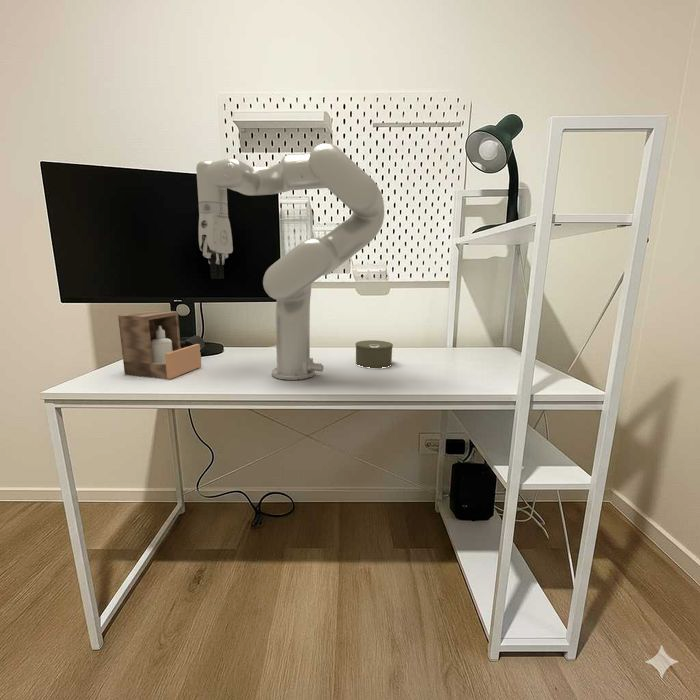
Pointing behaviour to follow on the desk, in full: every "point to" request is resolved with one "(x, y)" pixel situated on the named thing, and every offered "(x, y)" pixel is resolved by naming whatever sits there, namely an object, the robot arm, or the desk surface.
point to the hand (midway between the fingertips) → (217, 278)
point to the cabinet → (146, 340)
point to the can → (374, 353)
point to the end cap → (191, 341)
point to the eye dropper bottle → (160, 346)
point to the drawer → (182, 360)
